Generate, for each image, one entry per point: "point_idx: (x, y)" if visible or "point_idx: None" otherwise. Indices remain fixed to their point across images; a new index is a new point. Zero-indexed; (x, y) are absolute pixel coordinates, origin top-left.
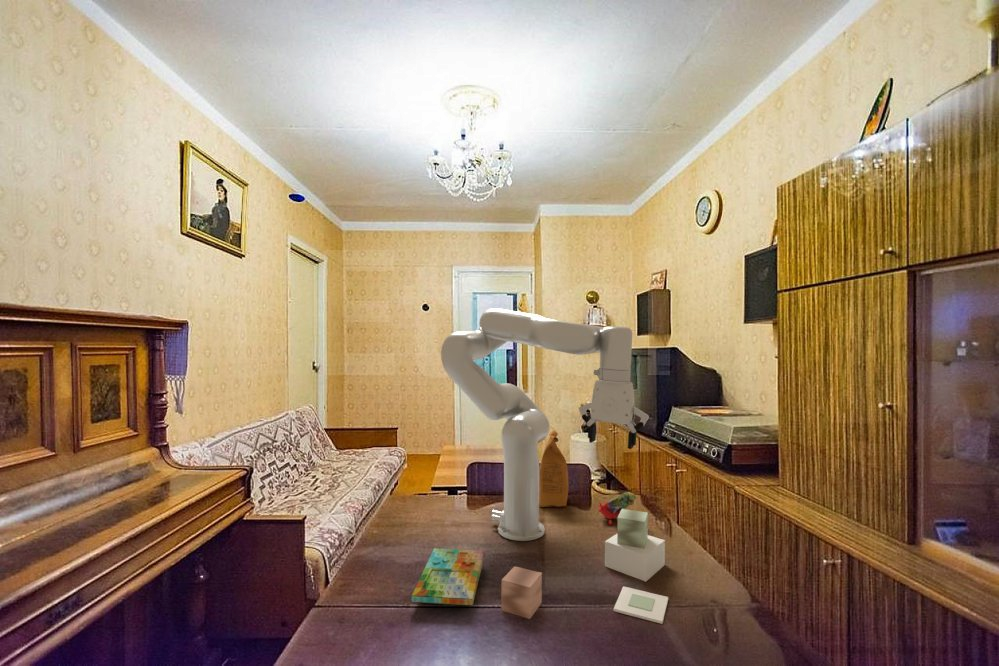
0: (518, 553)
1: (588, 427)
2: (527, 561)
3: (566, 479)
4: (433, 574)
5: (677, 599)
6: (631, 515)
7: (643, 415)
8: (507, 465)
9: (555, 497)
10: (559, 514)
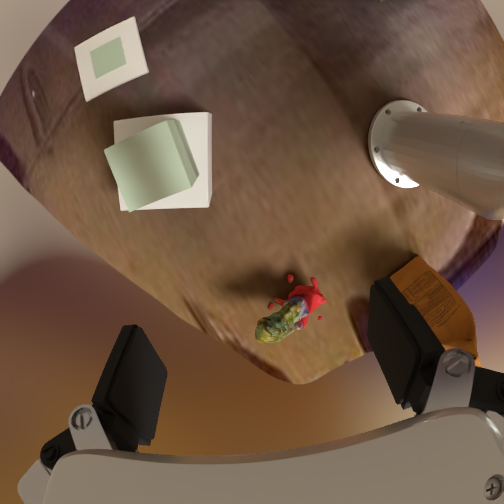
0: (361, 63)
1: (443, 350)
2: (332, 45)
3: None
4: None
5: (79, 113)
6: (146, 161)
7: (30, 501)
8: None
9: (406, 279)
10: (382, 253)
